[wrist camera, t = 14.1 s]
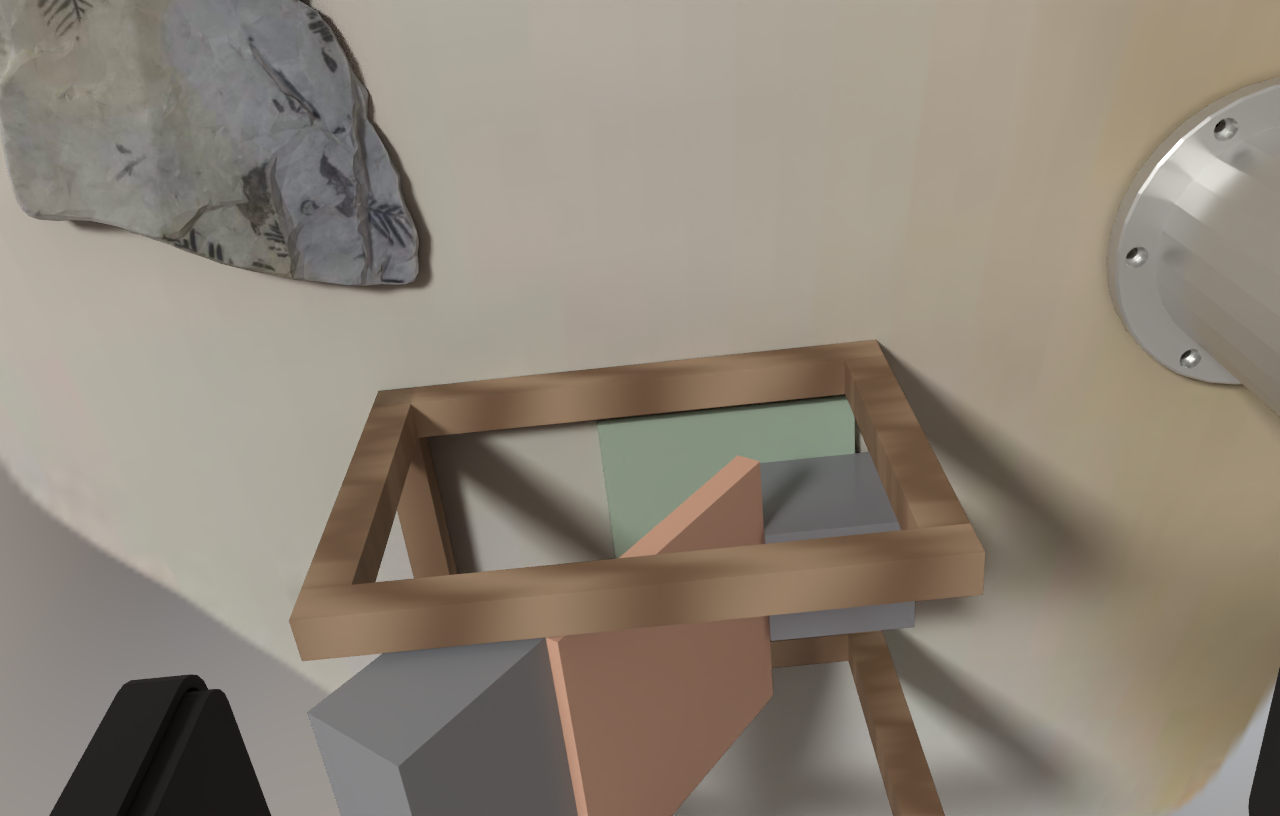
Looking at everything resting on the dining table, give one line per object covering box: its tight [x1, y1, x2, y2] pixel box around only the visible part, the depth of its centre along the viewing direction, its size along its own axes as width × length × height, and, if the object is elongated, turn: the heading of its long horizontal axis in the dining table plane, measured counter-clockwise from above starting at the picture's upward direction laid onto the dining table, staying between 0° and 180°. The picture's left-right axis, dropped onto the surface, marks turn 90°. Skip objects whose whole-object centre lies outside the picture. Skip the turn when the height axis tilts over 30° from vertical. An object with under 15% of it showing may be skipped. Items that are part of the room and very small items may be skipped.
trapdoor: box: [307, 455, 773, 816], centre depth 40 cm, size 18×12×4 cm
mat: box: [597, 396, 855, 559], centre depth 50 cm, size 11×11×1 cm
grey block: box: [760, 452, 915, 641], centre depth 47 cm, size 5×5×6 cm
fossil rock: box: [0, 0, 419, 286], centre depth 39 cm, size 18×15×2 cm
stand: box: [289, 340, 985, 816], centre depth 43 cm, size 21×16×15 cm
